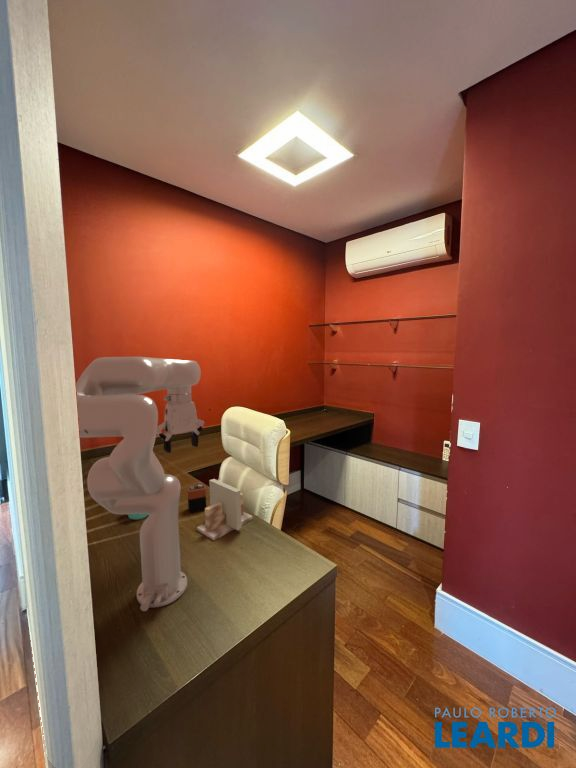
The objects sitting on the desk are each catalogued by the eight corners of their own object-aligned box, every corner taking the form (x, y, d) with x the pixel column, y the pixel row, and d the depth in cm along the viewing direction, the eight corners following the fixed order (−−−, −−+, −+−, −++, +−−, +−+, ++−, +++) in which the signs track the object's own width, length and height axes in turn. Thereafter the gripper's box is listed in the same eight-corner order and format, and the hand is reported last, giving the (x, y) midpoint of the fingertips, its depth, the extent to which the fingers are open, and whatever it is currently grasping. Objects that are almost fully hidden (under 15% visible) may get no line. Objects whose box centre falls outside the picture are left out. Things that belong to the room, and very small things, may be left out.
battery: (206, 509, 126) (205, 486, 125) (189, 513, 124) (188, 489, 123) (205, 505, 130) (204, 482, 129) (188, 508, 128) (187, 485, 127)
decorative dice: (126, 514, 124) (125, 495, 123) (147, 507, 129) (146, 489, 128) (131, 522, 118) (130, 502, 117) (153, 515, 123) (152, 495, 122)
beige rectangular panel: (237, 530, 109) (235, 492, 107) (210, 515, 119) (209, 480, 118) (241, 528, 110) (240, 490, 109) (215, 513, 121) (213, 478, 120)
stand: (213, 540, 105) (212, 514, 104) (196, 530, 111) (195, 505, 111) (252, 519, 119) (252, 495, 118) (235, 510, 125) (235, 488, 124)
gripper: (159, 402, 95) (161, 456, 96) (208, 397, 108) (210, 445, 109) (149, 400, 100) (151, 452, 101) (197, 395, 113) (198, 442, 114)
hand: (181, 448), depth 105 cm, fingers open, 9 cm apart
